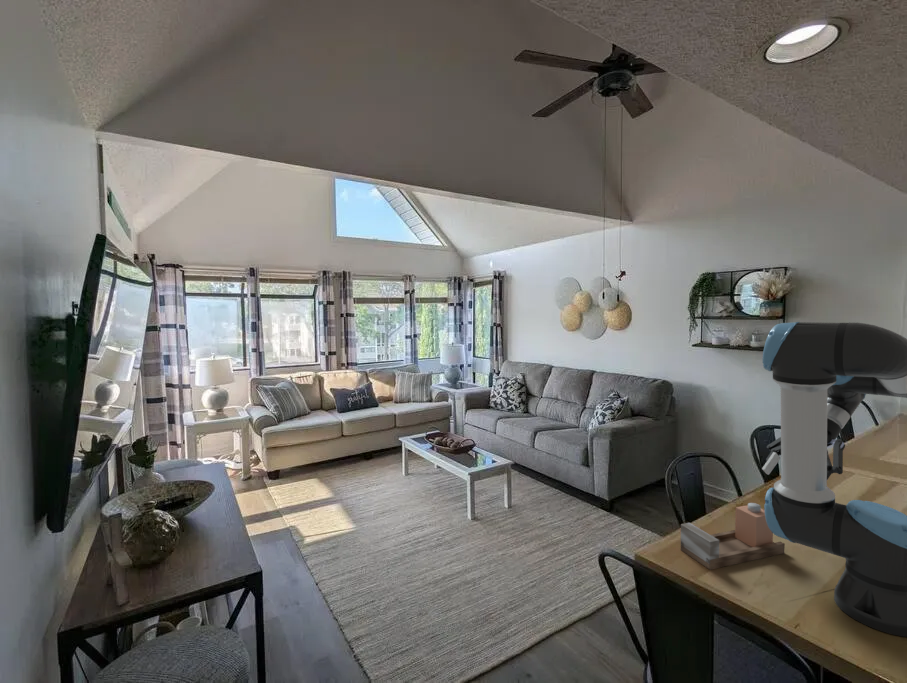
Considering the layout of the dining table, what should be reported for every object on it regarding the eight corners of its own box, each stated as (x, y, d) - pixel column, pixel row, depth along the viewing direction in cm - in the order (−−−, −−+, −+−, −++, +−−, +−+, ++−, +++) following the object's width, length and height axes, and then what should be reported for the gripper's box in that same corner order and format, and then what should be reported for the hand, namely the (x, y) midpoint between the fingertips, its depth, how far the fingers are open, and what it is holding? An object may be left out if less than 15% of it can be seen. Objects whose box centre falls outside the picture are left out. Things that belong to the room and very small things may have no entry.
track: (751, 535, 131) (751, 511, 130) (784, 553, 121) (785, 526, 120) (680, 549, 124) (680, 524, 124) (709, 569, 114) (709, 542, 114)
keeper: (751, 534, 128) (752, 499, 127) (772, 545, 122) (773, 508, 121) (735, 537, 127) (735, 501, 126) (755, 549, 120) (756, 511, 120)
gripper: (883, 442, 118) (841, 505, 115) (791, 420, 142) (754, 472, 139) (870, 425, 116) (827, 489, 114) (778, 405, 140) (741, 458, 137)
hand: (787, 480), depth 126 cm, fingers open, 12 cm apart
